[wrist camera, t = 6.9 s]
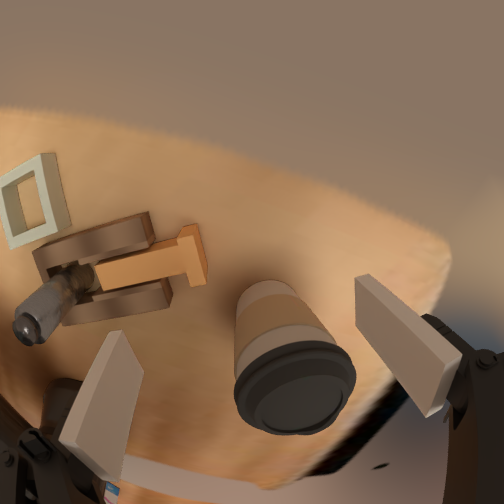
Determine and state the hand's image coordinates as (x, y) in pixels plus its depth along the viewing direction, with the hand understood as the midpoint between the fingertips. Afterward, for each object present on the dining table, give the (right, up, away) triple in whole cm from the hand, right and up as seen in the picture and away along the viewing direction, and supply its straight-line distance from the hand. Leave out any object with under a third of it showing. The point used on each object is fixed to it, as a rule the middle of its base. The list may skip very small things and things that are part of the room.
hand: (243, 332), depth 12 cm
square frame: (-23, +9, +11) cm, 27 cm away
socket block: (-16, +2, +14) cm, 21 cm away
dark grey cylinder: (-19, +1, +14) cm, 23 cm away
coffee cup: (+2, -3, +18) cm, 18 cm away
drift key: (-9, +3, +15) cm, 18 cm away
